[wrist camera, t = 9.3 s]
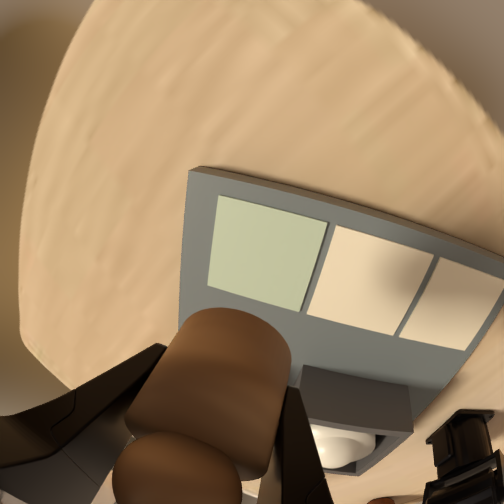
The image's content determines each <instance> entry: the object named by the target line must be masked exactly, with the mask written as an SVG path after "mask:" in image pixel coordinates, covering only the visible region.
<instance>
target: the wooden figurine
mask: <svg viewBox="0 0 504 504" xmlns="http://www.w3.org/2000/svg"><path fill="white" fill-rule="evenodd" d="M367 504H395V503H394V501H393V500H392V499H390V498H379V499H374V500H372V501H370V502H368V503H367Z"/></svg>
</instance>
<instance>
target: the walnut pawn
mask: <svg viewBox="0 0 504 504" xmlns="http://www.w3.org/2000/svg"><path fill="white" fill-rule="evenodd" d="M291 362H292V359H291V352H290V349H289V346H288V344H287V342H286V341H285V339H284V338H283V337H282V335H281V334H280V333H279V332H278V331H277V330H276V329H275V328H274V327H273V326H271V325H270V324H269V323H267V322H266V321H264V320H262V319H261V318H259V317H257V316H255V315H253V314H250V313H247V312H245V311H241V310H237V309H232V308H222V307H217V308H208V309H204V310H200V311H198V312H196V313H194V314H192V315H191V316H190V317H188V318H187V319H186V321H185V322H184V323H183V325H182V326H181V328H180V330H179V331H178V333H177V334H176V336H175V337H174V339H173V340H172V342H171V343H170V345H169V346H168V348H167V349H166V351H165V353H164V354H163V356H162V357H161V359H160V360H159V362H158V363H157V365H156V366H155V368H154V370H153V371H152V373H151V374H150V376H149V377H148V379H147V380H146V382H145V384H144V385H143V387H142V388H141V390H140V391H139V393H138V395H137V396H136V398H135V399H134V401H133V402H132V404H131V406H130V407H129V409H128V410H127V412H126V414H125V415H124V421H125V424H126V427H127V428H128V430H129V431H130V433H131V434H132V435H133V436H134V437H135V438H136V440H135V441H133V442H132V443H130V444H129V445H128V446H127V447H126V448H125V449H124V450H123V451H122V452H121V454H120V455H119V457H118V458H117V460H116V462H115V465H114V468H113V472H112V489H113V494H114V497H115V500H116V502H117V504H241V502H242V483H241V481H250V480H255V479H259V478H261V477H263V476H264V475H265V474H266V473H267V471H268V467H269V463H270V459H271V455H272V451H273V447H274V443H275V438H276V434H277V430H278V425H279V420H280V416H281V411H282V407H283V402H284V397H285V392H286V387H287V383H288V378H289V373H290V368H291Z"/></svg>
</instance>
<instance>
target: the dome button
mask: <svg viewBox="0 0 504 504" xmlns="http://www.w3.org/2000/svg"><path fill="white" fill-rule="evenodd" d="M310 426H311V429H312V433H313V436H314V440H315V443H316V447H317V450H318V453H319V457H320V460H321V464H322V467H324V468H339V467H342V466H345V465H347V464H348V463H350V462H353V461H357V460H360V459H362V458H364V457H366V456H368V455H369V454H371V453H372V452H373V450H374V449H375V434H368V433H361V432H354V431H347V430H341V429H335V428H329V427H324V426H319V425H314V424H310Z"/></svg>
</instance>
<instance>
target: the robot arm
mask: <svg viewBox="0 0 504 504" xmlns="http://www.w3.org/2000/svg"><path fill="white" fill-rule="evenodd" d="M167 348H168V347H167V346H165V345H162V344H160V343H155V344H153V345H152V346H150V347H148V348H147V349H145V350H143V351H141V352H140V353H138V354H136V355H134V356H133V357H131V358H129V359H127V360H126V361H124V362H122V363H120V364H119V365H117V366H115V367H113V368H111V369H110V370H108V371H106V372H104V373H103V374H101V375H99V376H97V377H95V378H94V379H92V380H90V381H88V382H86V383H85V384H83V385H81V386H79V387H77V388H76V389H73V390H72V391H70V392H68V393H66V394H64V395H62V396H60V397H58V398H56V399H54V400H51V401H49V402H47V403H45V404H42V405H39V406H36V407H34V408H31V409H28V410H26V411H23V412H20V413H17V414H14V415H9V416H0V504H91V503H92V501H93V500H94V498H95V496H96V494H97V493H98V491H99V489H100V487H101V486H102V484H103V483H104V481H105V479H106V478H107V476H108V474H109V473H110V471H111V469H112V468H113V466H114V464H115V462H116V460H117V458H118V457H119V455H120V454H121V452H122V451H123V449H124V448H125V446H126V444H127V443H128V441H129V439H130V438H131V436H132V434H131V433H130V431H129V430H128V428H127V427H126V424H125V421H124V415H125V414H126V412H127V410H128V409H129V407H130V406H131V404H132V402H133V401H134V399H135V398H136V396H137V395H138V393H139V391H140V390H141V388H142V387H143V385H144V384H145V382H146V380H147V379H148V377H149V376H150V374H151V373H152V371H153V370H154V368H155V366H156V365H157V363H158V362H159V360H160V359H161V357H162V356H163V354H164V353H165V351H166V349H167ZM494 415H495V414H494V412H493V411H457V412H456V413H455V414H454V415H453V416H452V417H451V418H449V419H448V420H447V421H446V422H445V423H444V424H443V425H442V426H441V427H440V428H439V429H438V430H437V431H435V432H434V433H433V434H432V435H431V436H430V437H429V438H427V439H426V444H432V446H433V455H434V465H435V467H437V475H438V479H437V480H434V481H432V482H431V481H430V482H427V483H426V486H425V490H424V497H423V503H422V504H503V502H504V455H503V454H502V452H501V451H500V449H498V450H496V451H495V452H494V453H493V450H492V445H491V440H490V436H489V432H488V428H487V424H486V423H487V422H488V421H489V420H490V419H492V418H493V417H494ZM496 467H497V469H496V470H495V471H493V470H492V469H494V468H496ZM257 504H334V502H333V500H332V497H331V494H330V491H329V488H328V484H327V481H326V478H325V474H324V471H323V467H322V464H321V460H320V457H319V453H318V450H317V447H316V443H315V440H314V436H313V433H312V429H311V426H310V423H309V419H308V416H307V412H306V409H305V406H304V402H303V399H302V395H301V392H300V389H299V388H298V387H294V386H290V385H287V387H286V392H285V397H284V402H283V407H282V411H281V416H280V420H279V425H278V430H277V434H276V438H275V443H274V447H273V451H272V455H271V459H270V463H269V467H268V471H267V473H266V474H265V475H264V476H263V477H261V483H260V489H259V494H258V500H257Z"/></svg>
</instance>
